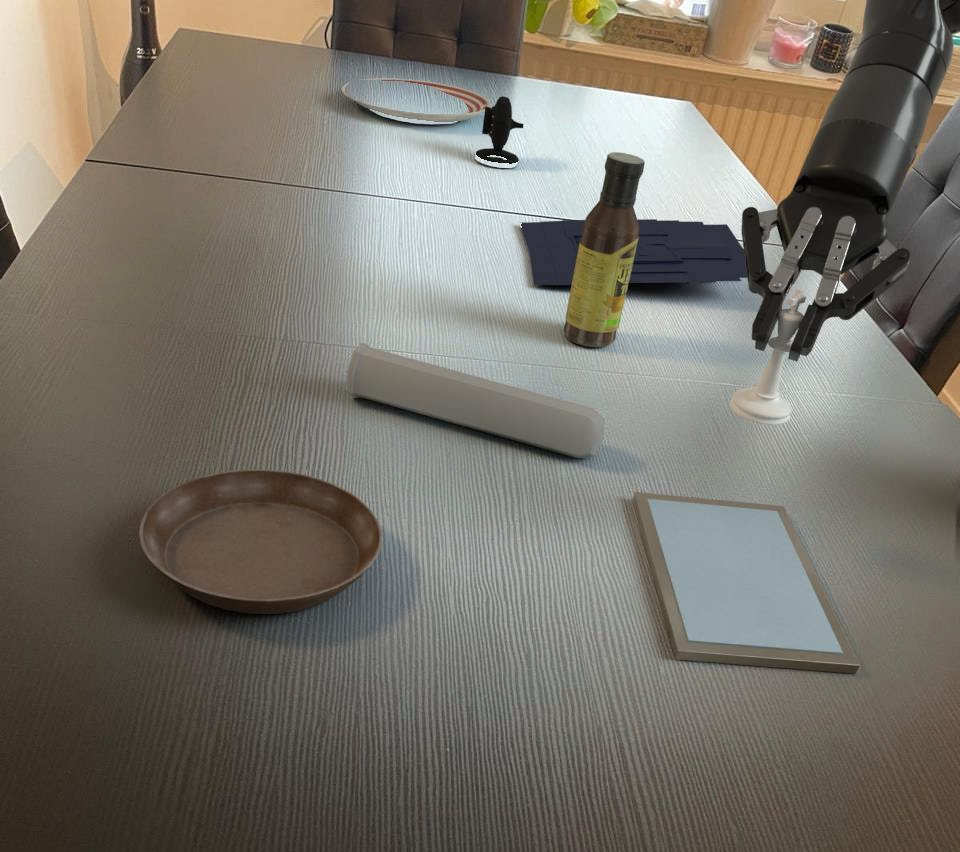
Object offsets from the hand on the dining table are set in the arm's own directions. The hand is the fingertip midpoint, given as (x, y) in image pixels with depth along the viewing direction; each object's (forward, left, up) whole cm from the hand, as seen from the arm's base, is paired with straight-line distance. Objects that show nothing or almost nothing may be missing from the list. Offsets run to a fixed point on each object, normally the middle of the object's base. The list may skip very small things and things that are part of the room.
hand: (777, 350), depth 77 cm
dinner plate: (+29, -136, -18) cm, 140 cm away
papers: (-3, -67, -18) cm, 69 cm away
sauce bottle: (+6, -41, -18) cm, 45 cm away
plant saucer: (+37, +8, -18) cm, 42 cm away
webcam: (+14, -110, -18) cm, 112 cm away
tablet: (-1, +5, -18) cm, 18 cm away
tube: (+21, -16, -18) cm, 32 cm away
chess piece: (-1, -2, -6) cm, 6 cm away
